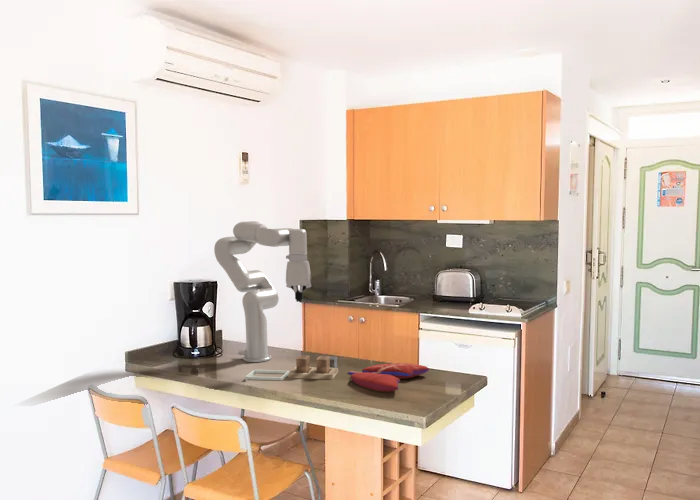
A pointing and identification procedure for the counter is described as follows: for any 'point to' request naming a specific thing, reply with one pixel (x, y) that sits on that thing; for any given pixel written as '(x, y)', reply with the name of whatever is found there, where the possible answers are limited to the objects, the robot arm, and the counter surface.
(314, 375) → the pallet
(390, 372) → the anatomical model
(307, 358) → the block
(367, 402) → the counter surface
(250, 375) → the tote
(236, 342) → the counter surface
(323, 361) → the block
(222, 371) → the counter surface
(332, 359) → the grey metal housing
